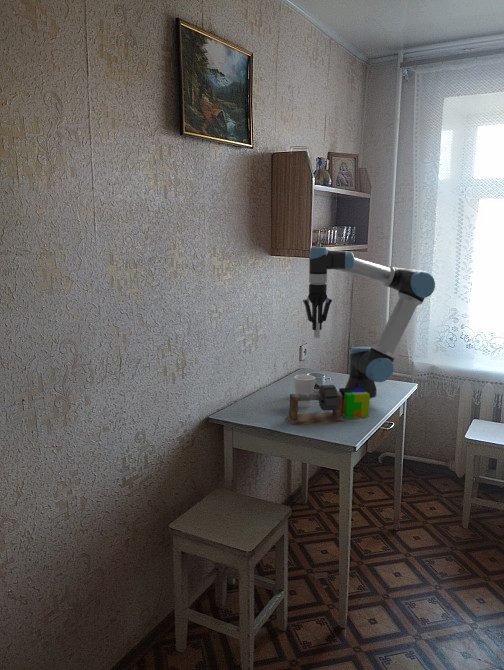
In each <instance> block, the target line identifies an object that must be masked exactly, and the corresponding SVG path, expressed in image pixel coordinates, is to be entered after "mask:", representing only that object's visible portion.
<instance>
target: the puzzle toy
mask: <svg viewBox="0 0 504 670" xmlns="http://www.w3.org/2000/svg"><path fill="white" fill-rule="evenodd" d="M338 390H339V391H338V392H341V395H342V411H341V415H342V416H343V417H345V418H348V419H349V418H367V417H369V415H370V414H369V413H370V399H371V397H370V394H369V393H368V392H366V391H365V390H364V389H362V388H345V387H340V388H339V389H338Z"/></svg>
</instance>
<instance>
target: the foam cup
mask: <svg viewBox="0 0 504 670" xmlns="http://www.w3.org/2000/svg"><path fill="white" fill-rule="evenodd" d="M293 384H294V394H303V393H314V389H315V384H316V376H314V375H311V374H296V375H294V377H293ZM311 405H312V400H310V401H298V408H310V407H311Z"/></svg>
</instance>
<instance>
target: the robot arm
mask: <svg viewBox="0 0 504 670" xmlns="http://www.w3.org/2000/svg"><path fill="white" fill-rule="evenodd" d="M308 256H309V257H308V259H309V260H308V261H309V262H308V263H309V267H308V268H309V275H308V283H309V284H308V296H307V298H305V299H303V300H302V303H303V304H304V306H305V311H306V316H307V320H308V322H309V323H310V322H311V323H312V324H311V325H312V327H311V328H312V330H313V337H314V338H316V339H320V331H322V327H323V322H326V321H327V317H328V314H329V310H330V306H331V303H332V302H333V300H332V299H331V298H329V297H328V295H327V288H328V285H327V284H326V283H328V282H327V280H328V270H337V271H340V272H344V273H347V274H350V275H355V276H358V277H361V278H364V279H369V280H372V281H375V282H379V283H382V285H383V286H384V287H388V288H391V289H393V290H395V291H398V292H397V295H398V297H399V298H398V299H397V302H396V303H395V306H394V308H393V310H392V312H391V314H390V316H389V318H388V320H387V322H386V324H385V327H384V328H383V330H382V332H381V335H380V336H379V339H378V340H377V342H376V344H375V345H372V346H355V347H351V349H350V353H349V376H348V379H347V382H346V385H345V387H344V388H362V389H364V390H365V391H366V392H368V393H369V394H370V398H374V397H375V396H377V392H378V391H377V386H376V383H383V382H386V381H388V380H389V379H390V378H391V377H392V376H393V373H394V369H395V367H394V364H393V363H394V361H395V358H396V357H395V355H394V354H395V351H396V349H397V347H398V345H399V343H400V341H401V339H402V337H403V335H404V333H405V331H406V329H407V327H408V325H409V323H410V321H411V320H412V317H413V315H414V313H415V311H416V309H417V306H420V305H422V304H423V303H424V300H426V298H428V297H430V296H431V295H432V294H433V293H434V291H435V289H436V281H435V278H434V276H433V275H432V274H431V273H430V272H428V271H425V270H422V269H413V268H403V267H397V266H385V265H382V264H378V263H373V262H371V261H367V260H363V259H360V258H358V257H355V256H354V253H353V252H352V251H339V250H337V251H336V250H329V249H328V248H327V247H324V246H322V247H321V246H315V247H311V248H310V250H309V255H308ZM324 303H325V304H324ZM310 304H311V306H310ZM375 382H376V383H375Z"/></svg>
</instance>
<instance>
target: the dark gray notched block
mask: <svg viewBox="0 0 504 670" xmlns="http://www.w3.org/2000/svg"><path fill="white" fill-rule="evenodd" d="M337 392H338V389H337V387H336V386H335V385H334V384H325V385H324V384H323V385H320V386H319V389H318V392H317V393H323V394H324V400H318V404H319V407H320V409H321V411H323V412H324V411H333V410H335V409H336V408H337V405H338V398H337V397H338V393H337Z"/></svg>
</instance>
